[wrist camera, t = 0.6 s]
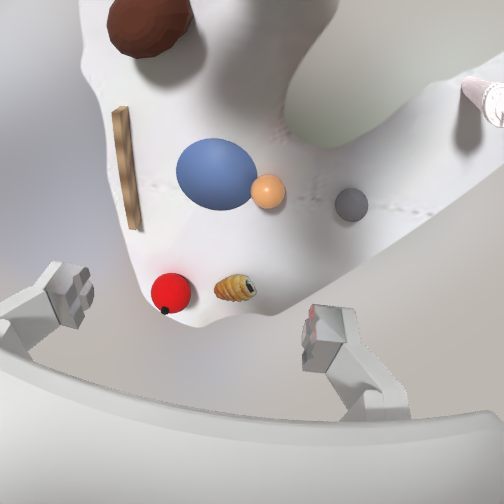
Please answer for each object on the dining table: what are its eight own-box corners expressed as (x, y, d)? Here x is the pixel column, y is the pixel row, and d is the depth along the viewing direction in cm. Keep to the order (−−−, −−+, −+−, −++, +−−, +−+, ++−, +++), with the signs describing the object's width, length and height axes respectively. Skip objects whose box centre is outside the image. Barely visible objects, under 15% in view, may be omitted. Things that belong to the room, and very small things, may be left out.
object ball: (254, 166, 51) (250, 183, 47) (287, 171, 51) (287, 188, 47) (251, 194, 55) (247, 212, 50) (282, 198, 54) (281, 217, 50)
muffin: (160, -31, 29) (128, -38, 22) (218, 5, 33) (199, 4, 26) (115, 29, 36) (79, 38, 28) (168, 65, 40) (140, 79, 33)
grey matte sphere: (338, 179, 50) (342, 197, 46) (368, 185, 50) (375, 203, 46) (330, 206, 54) (333, 225, 50) (360, 211, 54) (365, 230, 50)
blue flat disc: (175, 135, 48) (174, 135, 48) (261, 143, 48) (261, 144, 48) (178, 204, 58) (178, 205, 58) (253, 214, 57) (253, 215, 57)
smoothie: (456, 106, 38) (501, 143, 28) (452, 68, 34) (501, 95, 24) (487, 104, 36) (535, 140, 26) (484, 67, 32) (536, 95, 22)
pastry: (224, 298, 75) (221, 310, 73) (208, 279, 72) (205, 292, 69) (259, 289, 72) (257, 302, 69) (244, 269, 68) (242, 282, 65)
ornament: (178, 260, 68) (165, 295, 61) (202, 285, 73) (192, 321, 66) (150, 270, 72) (136, 304, 64) (174, 294, 76) (162, 327, 69)
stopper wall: (120, 106, 45) (111, 112, 43) (127, 106, 45) (119, 112, 43) (134, 219, 61) (129, 229, 59) (141, 220, 61) (135, 230, 59)
